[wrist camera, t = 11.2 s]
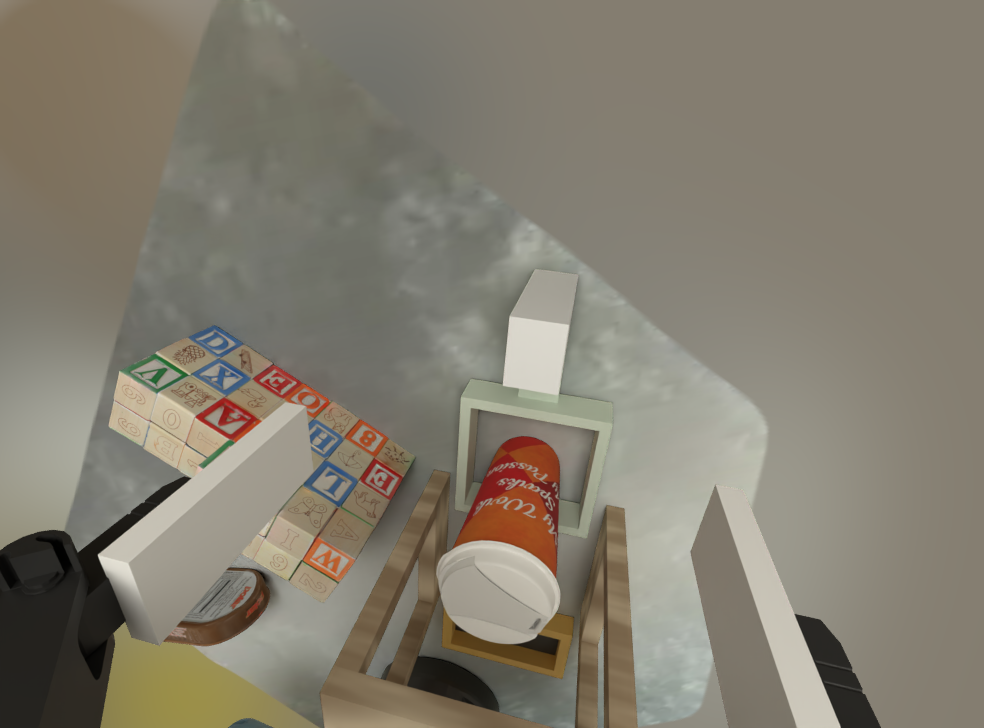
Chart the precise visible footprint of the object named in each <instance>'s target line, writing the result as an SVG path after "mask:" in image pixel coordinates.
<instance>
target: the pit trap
mask: <svg viewBox="0 0 984 728" xmlns="http://www.w3.org/2000/svg"><path fill="white" fill-rule="evenodd" d="M573 622H574V617H570V616H566V615H561V614H557V613H555V615H554V616H553V617H552V618H551V620H550V621H549V622H548V623H547V624H546V625H545V627H544V628H543V629H542V631H541V632H540V633H538V634H537V637H535V638H534V639H532V640H530V641H527V642H524V643H518V644H500V643H494V642H490V641H486V640H483V639H480V638H478V637H475V636H473V635H472V634H470V633H468V632H466V631H465V630H463V629H462V628H460V627H459V626H458V625H457V624H455V623H454V622H453V621H452V619H451V618H450V617H449V616H448V614H447V612H446V610H445V608H444V610H443V631H442V647H443V648H447V649H451V650H455V651H458V652H462V653H466V654H470V655H473V656H477V657H481V658H485V659H488V660H492V661H496V662H500V663H503V664H507V665H511V666H515V667H518V668H522V669H526V670H530V671H533V672H537V673H541V674H545V675H548V676H552V677H556V678H560V679H562V678H563V674H564V670H565V666H566V662H567V658H568V653H569V649H570V645H571V641H572V637H573Z"/></svg>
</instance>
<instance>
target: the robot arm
mask: <svg viewBox="0 0 984 728" xmlns="http://www.w3.org/2000/svg"><path fill="white" fill-rule="evenodd" d="M313 471H314V470H313V461H312V453H311V444H310V435H309V426H308V418H307V409H306V406H303V405H298V404H292V403H287V402H285V403H284V404H283V405H281V406H280V407H279V408H278V409H277V410H275V411H274V412H273V413H272V414H270V415H269V416H268V417H267V418H266V419H264V420H263V421H262V422H261V423H259V424H258V425H257V426H256V427H254V428H253V429H252V430H251V431H250V432H248V433H247V434H246V435H245V436H243V437H242V438H241V439H240V440H238V441H237V442H236V443H235V444H234V445H232V446H231V447H230V448H229V449H227V450H226V451H225V452H224V453H222V454H221V455H220V456H219V457H218V458H216V459H215V460H214V461H213V462H211V463H210V464H209V465H208V466H206V467H205V468H204V469H203V470H202V471H200V472H199V473H198V474H197V475H195V476H194V477H193V478H188V477H182V478H180V479H178V480H176V481H174V482H171V483H169V484H167V485H165V486H163V487H162V488H160V489H159V490H158V491H156V492H155V493H154V494H153V495H151V496H150V497H149V498H147V499H146V500H145V503H141V504H140V505H138V506H137V507H136V508H135V509H133V510H132V511H131V513H130V514H127V515H126V516H124V517H123V518H122V519H120V520H119V521H118V522H117V523H115V524H114V525H113V526H111V527H110V528H109V529H108V530H106V531H105V532H104V533H102V534H101V535H100V536H99V537H97V538H96V539H95V540H93V541H92V542H91V543H90V544H88V545H87V546H86V547H84V548H83V549H82V550H81V551H79V552H78V553H77V550H76V548H75V546H74V544H73V541H72V539H71V537H70V536H69V535H68V534H67V533H66V532H64V531H58V530H49V531H41V532H37V533H34V534H31V535H28V536H25V537H22V538H20V539H18V540H16V541H14V542H12V543H10V544H9V545H7V546H6V547H4V548H3V549H2V550H0V728H100V725H101V720H102V714H103V709H104V703H105V698H106V692H107V686H108V681H109V674H110V670H111V664H112V658H113V653H114V647H115V640H114V635H113V633H114V632H115V631H116V630H117V629H118V628H119V627H120V626H121V625H122V624H123V623H124V622H126V625H127V627H128V630H129V632H130V635H131V637H132V638H135V639H139V640H142V641H145V642H149V643H152V644H155V645H160V644H161V643H162V642H163V641H164V640H165V639H166V638H167V637H168V635H169V634H170V633H171V632H172V631H173V630H174V629H175V627H176V626H177V625H178V624H179V623H180V622H181V621H182V620H183V618H184V617H185V616H186V615H187V614H188V613H189V612H190V611H191V609H192V608H193V607H194V606H195V605H196V604H197V603H198V601H199V600H200V599H201V598H202V597H203V596H204V595H205V594H206V592H207V591H208V590H209V589H210V588H211V587H212V586H213V584H214V583H215V582H216V581H217V580H218V579H219V578H220V577H221V575H222V574H223V573H224V572H225V571H226V570H227V569H228V568H229V566H230V565H231V564H232V563H233V562H234V561H235V560H236V558H237V557H238V556H239V555H240V554H241V553H242V552H243V551H244V549H245V548H246V547H247V546H248V545H249V544H250V543H251V541H252V540H253V539H254V538H255V537H256V536H257V535H258V534H259V532H260V531H261V530H262V529H263V528H264V527H265V526H266V524H267V523H268V522H269V521H270V520H271V519H272V518H273V517H274V515H275V514H276V513H277V512H278V511H279V510H280V509H281V508H282V506H283V505H284V504H285V503H286V502H287V501H288V500H289V498H290V497H291V496H292V495H293V494H294V493H295V492H296V491H297V489H298V488H299V487H300V486H301V485H302V484H303V483H304V481H305V480H306V479H307V478H308V477H309V476H310V475H311V474H312V472H313ZM691 557H692V561H693V566H694V570H695V575H696V580H697V584H698V589H699V593H700V598H701V603H702V607H703V612H704V616H705V621H706V625H707V630H708V635H709V639H710V644H711V648H712V653H713V657H714V662H715V667H716V671H717V676H718V680H719V685H720V690H721V694H722V699H723V703H724V708H725V712H726V717H727V721H728V726H729V728H881V727H880V725H879V723H878V720H877V718H876V716H875V714H874V712H873V710H872V708H871V706H870V704H869V702H868V700H867V698H866V695H865V694H863V693H862V687H861V685H860V683H859V681H858V679H857V677H856V675H855V673H853V672H852V667H851V664H850V662H849V660H848V658H847V656H846V654H845V652H844V650H843V647H842V646H841V643H840V642H839V641H838V640H837V639H836V638H835V636H834V635H833V634H832V633H831V632H830V630H829V629H828V628H827V627H826V626H825V624H824V623H823V622H822V621H821V620H819V619H815V618H810V617H806V616H801V615H797V614H794V613H793V610H792V608H791V605H790V603H789V600H788V598H787V595H786V593H785V590H784V588H783V586H782V583H781V581H780V578H779V576H778V574H777V571H776V568H775V566H774V564H773V561H772V559H771V556H770V554H769V551H768V549H767V547H766V545H765V542H764V539H763V537H762V534H761V532H760V530H759V527H758V525H757V522H756V520H755V517H754V515H753V512H752V510H751V508H750V505H749V503H748V500H747V498H746V495H745V493H744V491H743V490H742V489H736V488H731V487H726V486H721V485H715V487H714V490H713V493H712V495H711V498H710V501H709V503H708V506H707V509H706V511H705V514H704V517H703V520H702V522H701V525H700V528H699V530H698V533H697V536H696V538H695V541H694V544H693V547H692V549H691ZM391 666H392V663H391V664H390V665H389V666H388V667H387V668H386V669H385V671H384V673H383V675H382V678H381V679H383V680H386V678H387V676H388V673H389V671H390V668H391ZM407 686H408V687H411V688H415V689H418V690H422V691H425V692H429V693H432V694H436V695H439V696H443V697H446V698H450V699H453V700H457V701H461V702H464V703H468V704H471V705H475V706H478V707H482V708H485V709H489V710H492V711H496V712H499V706H498V703H497V700H496V698H495V697H494V695H493V693H492V692H491V691H490V690H489V688H488V687H487V686H486V685H485V684H484V683H483V682H482V681H480V680H479V679H478V678H477V677H475V676H474V675H472V674H471V673H469V672H467V671H466V670H464V669H462V668H460V667H458V666H456V665H453V664H451V663H448V662H445V661H441V660H437V659H432V658H425V657H417V659H416V662H415V665H414V667H413V670H412V673H411V676H410V679H409V681H408V684H407ZM228 728H273V727H271V726H268V725H266V724H264V723H262V722H259V721H257V720H255V719H251V718H246V719H241V720H239V721H237V722H235V723H233V724H232V725H231V726H230V727H228Z"/></svg>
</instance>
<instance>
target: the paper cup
mask: <svg viewBox="0 0 984 728" xmlns="http://www.w3.org/2000/svg"><path fill="white" fill-rule="evenodd" d="M559 489H560V466H559V460H558V457H557V455H556V453H555V452H554V450H553V449H552V448H551V447H550V446H549V445H548V444H546V443H545V442H543V441H541V440H539V439H536V438H533V437H527V436H521V437H515V438H512V439H509V440H507V441H506V442H505V443H503V444H502V445H501V447H500V448H499V449H498V451H497V453H496V455H495V457H494V459H493V461H492V463H491V465H490V467H489V469H488V471H487V474H486V476H485V478H484V480H483V482H482V485H481V487H480V489H479V491H478V493H477V496H476V498H475V500H474V502H473V504H472V507H471V509H470V511H469V513H468V516H467V518H466V520H465V522H464V525H463V527H462V529H461V531H460V533H459V536H458V538H457V540H456V542H455V545H454V547H453V549H452V550H451V551H449V552H447V553H446V554H444V555H443V556H442V557H441V559H440V561H439V563H438V566H437V572H436V575H437V578H438V584H439V589H440V593H441V600H442V603H443V606H444V608H445V610H446V612H447V614H448V616H449V617H450V618H451V619H452V621H453V622H454V623H455V624H457V625H458V626H459V627H460V628H462V629H463V630H465V631H466V632H468V633H470V634H472V635H473V636H475V637H478V638H480V639H483V640H486V641H490V642H494V643H500V644H518V643H524V642H527V641H530V640H532V639H534V638H535V637H537V634H538V633H540V632H541V631H542V629H543V628H544V627H545V625H546V624H547V623H548V622H549V621H550V620H551V618H552V617H553V616H554V615H555V613H556V612H557V610H558V608H559V604H560V596H561V594H560V588H559V585H558V582H557V580H556V571H557V547H558V519H559Z"/></svg>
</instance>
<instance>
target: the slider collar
mask: <svg viewBox="0 0 984 728" xmlns="http://www.w3.org/2000/svg"><path fill="white" fill-rule="evenodd" d="M577 281H578V274H570V273H562V272H555V271H547V270H539V269H535V270H534V272H533V274H532V276H531V278H530V279H529V281H528V283H527V285H526V287H525V289H524V291H523V292H522V294H521V296H520V298H519V300H518V302H517V304H516V305H515V307H514V309H513V311H512V313H511V315H510V318H509V328H508V338H507V348H506V358H505V368H504V378H503V384H499V383H493V382H488V381H482V380H476V379H471V380H470V382H469V383H468V385H467V387H466V389H465V390H464V392H463V394H462V396H461V406H460V424H459V442H458V460H457V478H456V496H455V510H457V511H462V512H467V513H469V511H470V509H471V507H472V504H473V502H474V500H475V498H476V496H477V493H478V491H479V489H480V487H481V485H482V483H477V482H473V477H474V464H475V451H476V438H477V424H478V411H479V409H480V410H485V411H491V412H496V413H502V414H508V415H513V416H519V417H524V418H530V419H535V420H541V421H546V422H552V423H557V424H563V425H568V426H574V427H579V428H585V429H590V430H595V435H594V440H593V444H592V449H591V454H590V459H589V463H588V468H587V473H586V478H585V482H584V487H583V492H582V497H581V501H580V504H579V503H574V502H569V501H564V500H560V499H559V519H558V533H563V534H568V535H572V536H577V537H581V538H586V539H587V535H588V531H589V527H590V522H591V518H592V514H593V509H594V505H595V501H596V496H597V492H598V487H599V483H600V479H601V474H602V470H603V466H604V461H605V457H606V453H607V448H608V444H609V440H610V435H611V431H612V426H613V408H612V403H610V402H604V401H599V400H593V399H587V398H581V397H575V396H569V395H564V394H559V392H560V386H561V380H562V374H563V367H564V361H565V355H566V349H567V343H568V337H569V331H570V324H571V318H572V312H573V306H574V300H575V294H576V288H577Z"/></svg>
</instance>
